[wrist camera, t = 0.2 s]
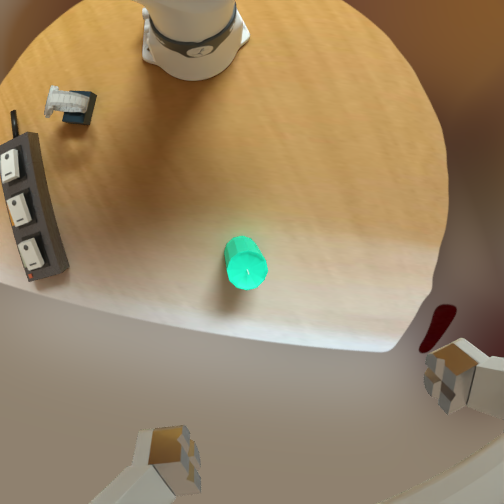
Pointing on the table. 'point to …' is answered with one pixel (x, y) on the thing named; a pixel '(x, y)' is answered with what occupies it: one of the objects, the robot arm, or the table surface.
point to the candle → (245, 263)
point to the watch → (71, 105)
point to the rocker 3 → (31, 254)
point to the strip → (34, 204)
